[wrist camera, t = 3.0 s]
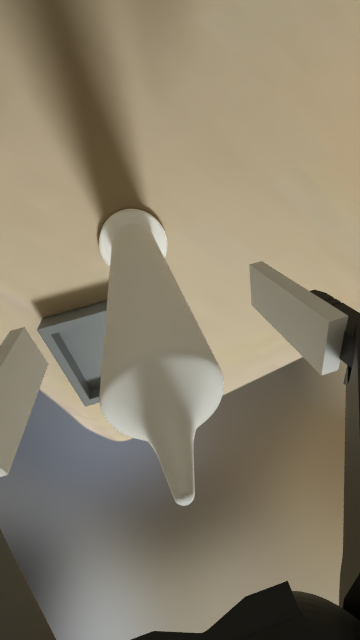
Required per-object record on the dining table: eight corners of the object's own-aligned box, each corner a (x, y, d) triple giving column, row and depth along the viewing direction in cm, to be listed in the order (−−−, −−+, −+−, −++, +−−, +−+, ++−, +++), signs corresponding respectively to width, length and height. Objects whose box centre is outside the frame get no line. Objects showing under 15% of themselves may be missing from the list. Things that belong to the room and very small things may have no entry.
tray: (42, 318, 29) (37, 329, 27) (151, 288, 30) (154, 297, 28) (87, 392, 36) (85, 406, 34) (174, 366, 37) (177, 378, 35)
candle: (85, 226, 25) (-70, 510, 4) (149, 196, 25) (304, 342, 4) (120, 285, 29) (125, 585, 8) (176, 259, 29) (326, 499, 8)
